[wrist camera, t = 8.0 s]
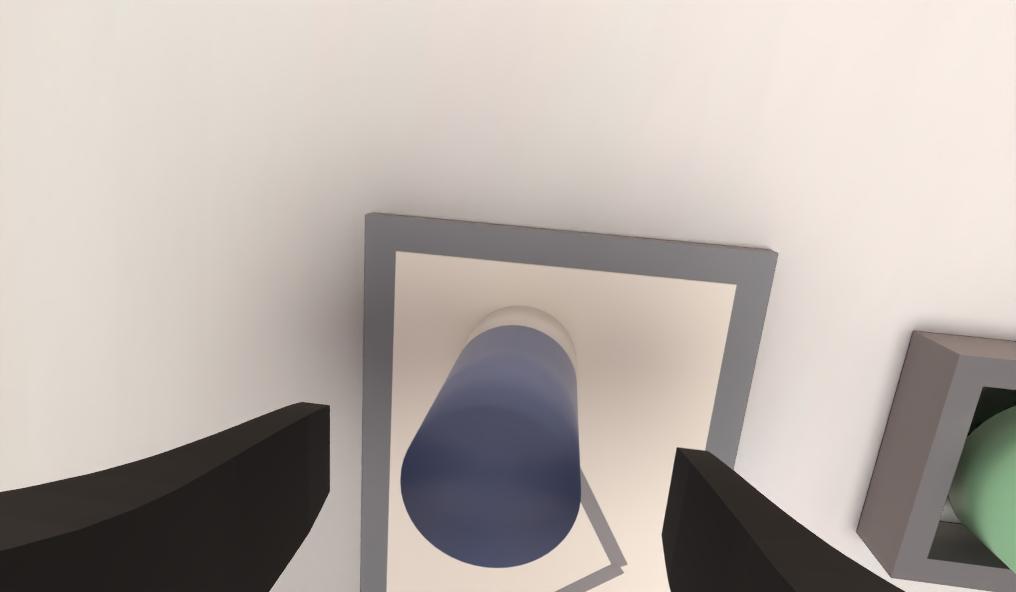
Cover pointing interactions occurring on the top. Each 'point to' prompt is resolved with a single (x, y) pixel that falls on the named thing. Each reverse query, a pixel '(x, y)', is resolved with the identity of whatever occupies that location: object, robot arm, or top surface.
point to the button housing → (934, 464)
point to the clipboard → (600, 381)
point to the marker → (500, 445)
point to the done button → (989, 485)
